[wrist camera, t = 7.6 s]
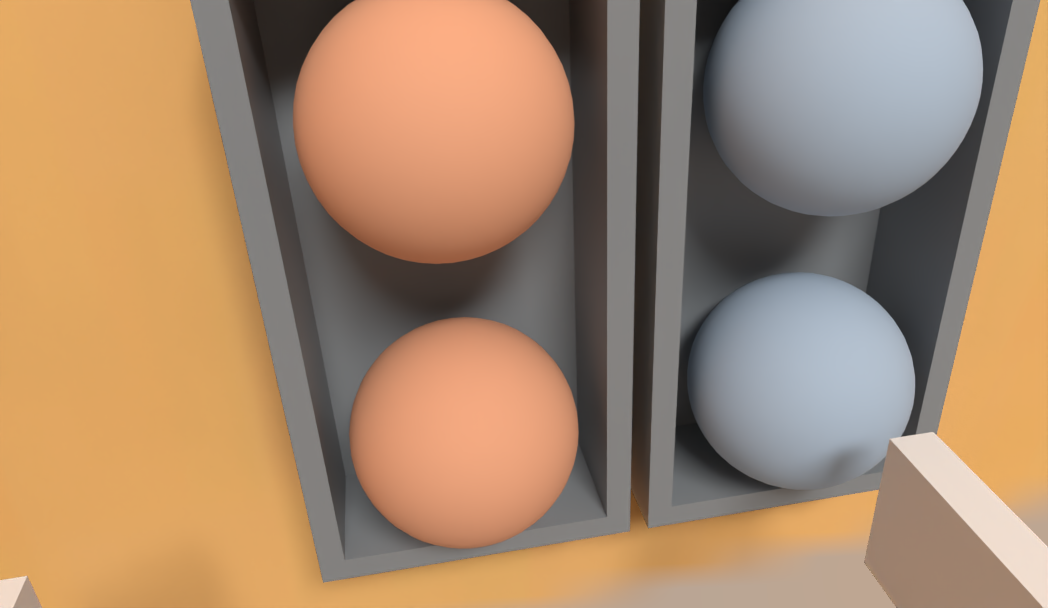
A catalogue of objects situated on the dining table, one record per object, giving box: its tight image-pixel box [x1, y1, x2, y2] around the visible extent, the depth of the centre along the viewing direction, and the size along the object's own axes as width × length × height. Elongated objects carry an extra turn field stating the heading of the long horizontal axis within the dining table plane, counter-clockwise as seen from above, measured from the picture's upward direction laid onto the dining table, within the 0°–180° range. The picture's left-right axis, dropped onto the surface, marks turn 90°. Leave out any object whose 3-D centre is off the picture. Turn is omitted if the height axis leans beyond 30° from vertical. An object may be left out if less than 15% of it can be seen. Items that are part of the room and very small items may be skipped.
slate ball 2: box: [687, 272, 915, 490], centre depth 17 cm, size 4×4×4 cm
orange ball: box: [349, 317, 579, 549], centre depth 16 cm, size 4×4×4 cm
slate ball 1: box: [703, 0, 983, 217], centre depth 14 cm, size 4×4×4 cm
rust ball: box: [293, 0, 575, 264], centre depth 13 cm, size 4×4×4 cm
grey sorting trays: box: [190, 0, 1040, 582], centre depth 16 cm, size 13×12×3 cm
